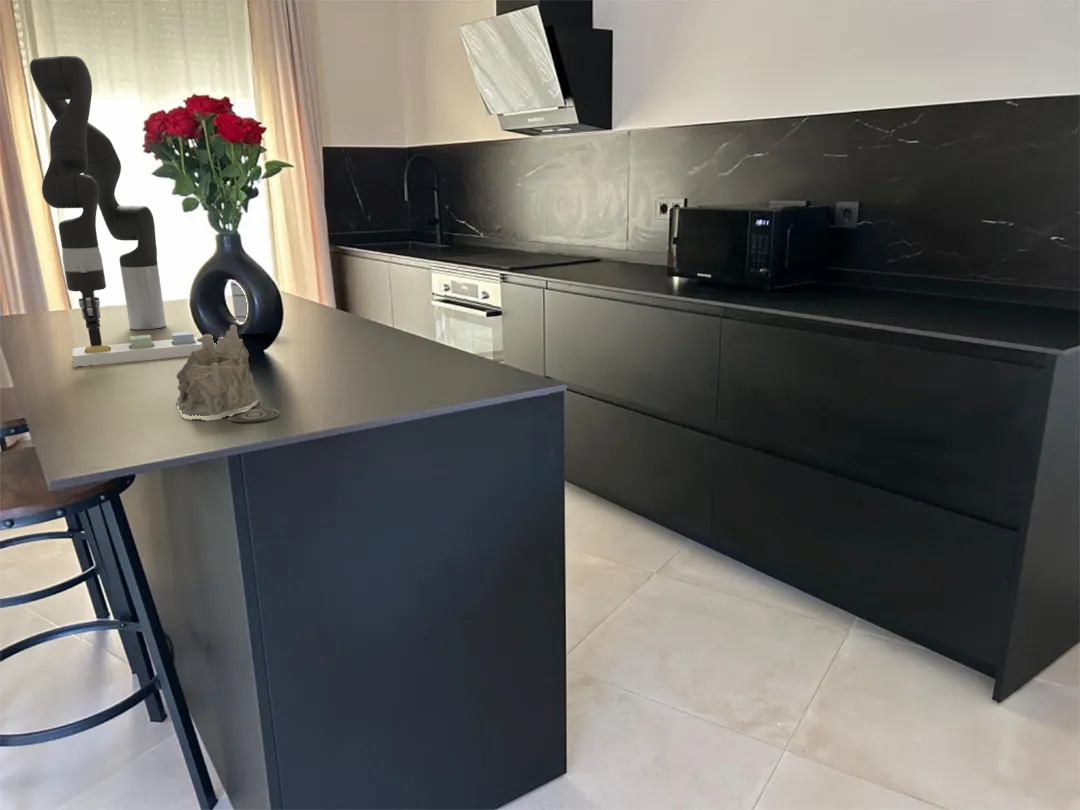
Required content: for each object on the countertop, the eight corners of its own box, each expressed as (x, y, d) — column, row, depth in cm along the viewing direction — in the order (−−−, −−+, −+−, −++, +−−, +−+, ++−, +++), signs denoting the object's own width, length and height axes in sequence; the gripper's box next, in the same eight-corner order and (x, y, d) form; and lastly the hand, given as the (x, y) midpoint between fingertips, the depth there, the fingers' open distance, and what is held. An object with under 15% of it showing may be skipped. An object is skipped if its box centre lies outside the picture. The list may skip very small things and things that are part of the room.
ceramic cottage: (207, 391, 150) (196, 316, 145) (277, 403, 144) (268, 324, 139) (143, 419, 136) (128, 336, 131) (217, 432, 131) (205, 347, 125)
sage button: (131, 348, 182) (129, 336, 181) (152, 347, 184) (150, 334, 183) (132, 352, 178) (130, 339, 177) (153, 350, 180) (151, 337, 179)
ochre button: (88, 356, 178) (86, 344, 177) (109, 354, 180) (107, 342, 179) (87, 360, 174) (85, 347, 173) (110, 358, 176) (108, 345, 175)
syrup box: (258, 335, 206) (252, 280, 202) (236, 335, 206) (229, 280, 202) (265, 331, 212) (260, 278, 207) (244, 331, 212) (238, 278, 208)
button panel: (75, 358, 179) (72, 345, 178) (222, 344, 194) (220, 332, 193) (73, 367, 171) (71, 353, 170) (227, 352, 185) (226, 339, 184)
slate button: (173, 345, 186) (171, 332, 185) (193, 343, 188) (191, 331, 187) (174, 348, 182) (173, 335, 181) (194, 346, 184) (193, 334, 183)
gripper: (65, 266, 175) (78, 341, 180) (63, 271, 164) (76, 351, 169) (103, 264, 178) (114, 338, 183) (103, 270, 167) (115, 348, 172)
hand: (96, 344), depth 176 cm, fingers closed
